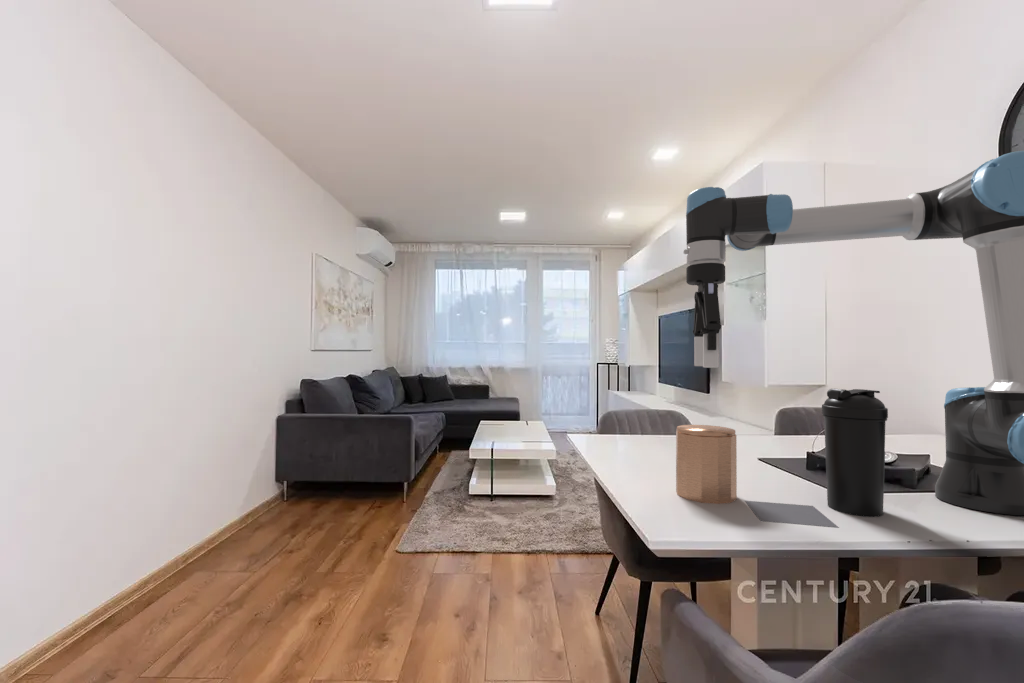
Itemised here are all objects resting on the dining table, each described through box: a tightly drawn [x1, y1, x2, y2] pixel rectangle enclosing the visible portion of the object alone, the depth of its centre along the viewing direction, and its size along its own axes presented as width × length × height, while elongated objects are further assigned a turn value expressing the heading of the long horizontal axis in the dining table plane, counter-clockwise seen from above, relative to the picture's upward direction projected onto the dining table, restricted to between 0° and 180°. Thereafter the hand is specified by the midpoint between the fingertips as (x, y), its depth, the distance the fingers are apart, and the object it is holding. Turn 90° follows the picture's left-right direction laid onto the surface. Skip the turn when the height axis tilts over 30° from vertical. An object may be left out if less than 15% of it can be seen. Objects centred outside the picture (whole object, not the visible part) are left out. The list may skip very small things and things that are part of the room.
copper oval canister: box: [675, 424, 738, 505], centre depth 99 cm, size 11×11×14 cm
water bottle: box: [821, 388, 889, 518], centre depth 91 cm, size 10×10×23 cm
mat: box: [744, 500, 840, 529], centre depth 88 cm, size 12×12×1 cm
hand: (705, 367), depth 99 cm, fingers open, 13 cm apart
